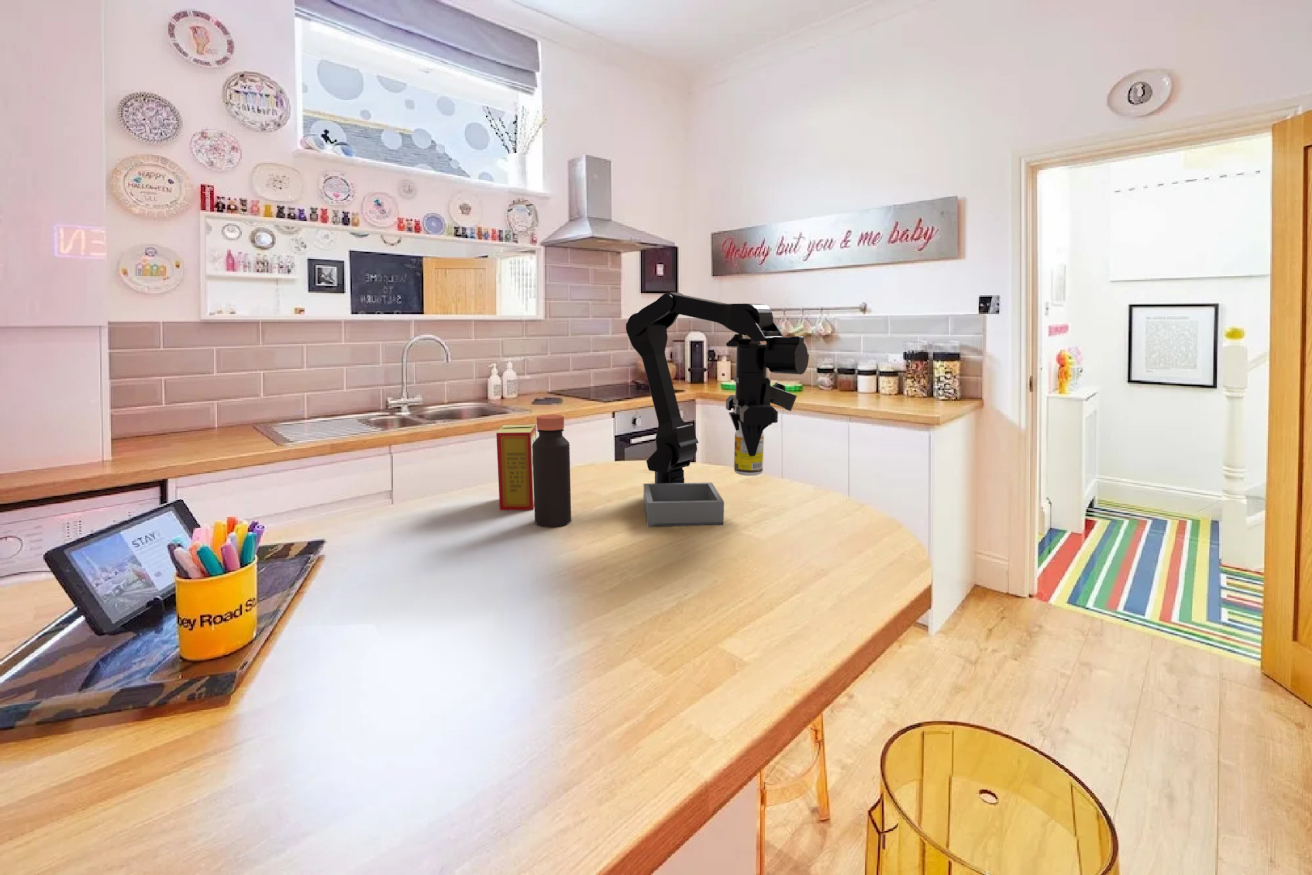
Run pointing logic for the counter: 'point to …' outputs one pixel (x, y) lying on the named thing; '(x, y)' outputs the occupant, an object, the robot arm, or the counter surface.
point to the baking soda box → (516, 466)
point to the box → (683, 504)
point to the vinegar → (551, 473)
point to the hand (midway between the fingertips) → (748, 452)
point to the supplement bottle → (747, 457)
